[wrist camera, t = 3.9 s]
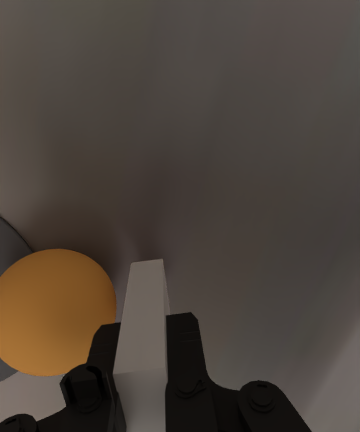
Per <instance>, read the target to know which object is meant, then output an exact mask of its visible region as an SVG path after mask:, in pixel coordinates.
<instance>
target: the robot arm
mask: <svg viewBox="0 0 360 432" xmlns="http://www.w3.org/2000/svg"><path fill="white" fill-rule="evenodd" d="M60 387H61V390H62V393H63V396H64V400H65V403H66V407H65V408H64V409H62V410H61V411H59V412H57V413H55V414H53V415H51V416H48V417H46V418H44V419H41V420H39V421H37V422H36V420H35V419H34V418H33V416H31V415H28V414H17V415H14V416H12V417H9V418H7V419H5V420H4V421H3V422H1V423H0V432H126V431H127V432H312V431H311V430H310V429H309V427H308V426H307V424H306V423H305V422H304V420H303V419H302V418H301V416H300V415H299V413H298V412H297V411H296V409H295V408H294V407H293V405H292V404H291V402H290V401H289V400H288V398H287V397H286V395H285V394H284V393H283V392H282V391H281V390H280V389H279V388H278V387H277V386H276V385H274V384H272V383H270V382H267V381H260V380H258V381H252V382H249V383H247V384H245V385H244V386H243V387H242V388H241V389H240V391H237V390H231V389H227V388H223V387H221V386H219V385H217V384H215V383H214V382H213V381H212V380H211V379H210V377H209V376H208V373H207V370H206V365H205V359H204V353H203V347H202V341H201V336H200V330H199V324H198V320H197V318H196V317H195V316H194V315H193V314H192V313H191V312H188V313H181V314H173V315H170V305H169V298H168V292H167V285H166V278H165V271H164V264H163V259H156V260H149V261H141V262H133V263H131V266H130V272H129V278H128V284H127V290H126V296H125V303H124V309H123V315H122V321H121V322H119V323H112V324H104V325H101V326H100V327H99V329H98V330H97V331H96V333H95V334H94V336H93V339H92V343H91V347H90V350H89V356H88V358H87V362H86V363H85V364H81V365H78V366H76V367H75V368H73V369H71V370H70V371H69V372H68V373H67V374H66V375H65V376H64V377H63V379H62V380H61V382H60Z"/></svg>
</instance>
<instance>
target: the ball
mask: <svg viewBox="0 0 360 432" xmlns="http://www.w3.org/2000/svg"><path fill="white" fill-rule="evenodd" d="M115 317H116V295H115V291H114V287H113V285H112V283H111V280H110V278H109V277H108V275H107V274H106V272H105V271H104V270H103V268H102V267H101V266H100V265H99V264H98V263H96V262H95V261H94V260H92V259H91V258H89V257H88V256H86V255H84V254H81V253H79V252H76V251H72V250H66V249H48V250H43V251H39V252H35V253H32V254H30V255H28V256H26V257H24V258H22V259H20V260H18V261H17V262H16V263H14V264H13V265H12V266H10V267H9V268H8V269H7V270H6V271H5V272H4V273H3V274H2V275H1V277H0V358H1V359H2V360H3V361H4V362H5V363H7V364H8V365H9V366H10V367H12V368H14V369H16V370H18V371H20V372H22V373H26V374H30V375H34V376H54V375H60V374H63V373H67V372H69V371H70V370H71V369H73V368H75V367H76V366H78V365H81V364H85V363H86V362H87V358H88V356H89V350H90V347H91V343H92V339H93V336H94V334H95V333H96V331H97V330H98V329H99V327H100V326H101V325H104V324H112V323H114V322H115Z"/></svg>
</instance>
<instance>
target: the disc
mask: <svg viewBox="0 0 360 432" xmlns="http://www.w3.org/2000/svg"><path fill="white" fill-rule="evenodd" d="M32 253H33V252H32V250H31V249H30V248H29V246H28V245H27V244H26V242H25V241H24V240H23V239H22V237H21V236H20V235H19V234H18V233H17V232H16V231H15V230H14V229H13V228H12V227H11V226H10V225H9V224H8V223H6V222H5V221H4V220H3V219H2V218H1V217H0V277H1V275H2V274H3V273H4V272H5V271H6V270H7V269H8V268H9V267H10V266H12V265H13V264H14V263H16V262H17V261H18V260H20V259H22V258H24V257H26V256H28V255H30V254H32ZM17 371H18V370H16V369H14V368H12V367H10V366H9V365H8V364H7V363H5V362H4V361H3V360H2V359H1V358H0V381H2V380H5V379H6V378H8V377H10V376H11V375H13V374H15V373H16V372H17Z"/></svg>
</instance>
